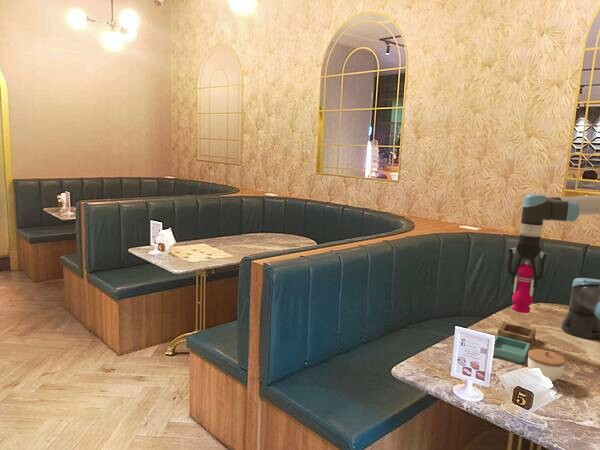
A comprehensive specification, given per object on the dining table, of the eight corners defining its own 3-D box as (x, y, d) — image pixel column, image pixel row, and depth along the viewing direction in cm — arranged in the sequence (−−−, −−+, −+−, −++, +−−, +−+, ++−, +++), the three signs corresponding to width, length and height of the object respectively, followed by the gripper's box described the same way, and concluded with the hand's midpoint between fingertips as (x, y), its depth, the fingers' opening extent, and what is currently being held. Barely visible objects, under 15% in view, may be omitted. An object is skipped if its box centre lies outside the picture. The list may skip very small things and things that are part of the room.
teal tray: (529, 351, 174) (530, 343, 174) (523, 364, 163) (524, 356, 162) (495, 342, 181) (496, 335, 180) (487, 354, 169) (488, 346, 169)
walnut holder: (534, 338, 187) (536, 329, 186) (530, 348, 177) (531, 338, 176) (502, 331, 193) (504, 321, 192) (496, 340, 183) (498, 330, 182)
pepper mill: (533, 314, 179) (539, 263, 175) (513, 312, 180) (519, 261, 177) (528, 308, 186) (534, 259, 182) (508, 306, 187) (514, 257, 184)
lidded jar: (519, 376, 154) (523, 349, 152) (533, 367, 160) (537, 341, 159) (553, 390, 146) (557, 361, 144) (567, 380, 152) (571, 353, 151)
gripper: (502, 232, 180) (496, 291, 184) (556, 239, 170) (547, 301, 174) (506, 230, 186) (499, 287, 190) (558, 236, 176) (550, 296, 180)
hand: (522, 293), depth 182 cm, fingers closed on pepper mill, 5 cm apart
